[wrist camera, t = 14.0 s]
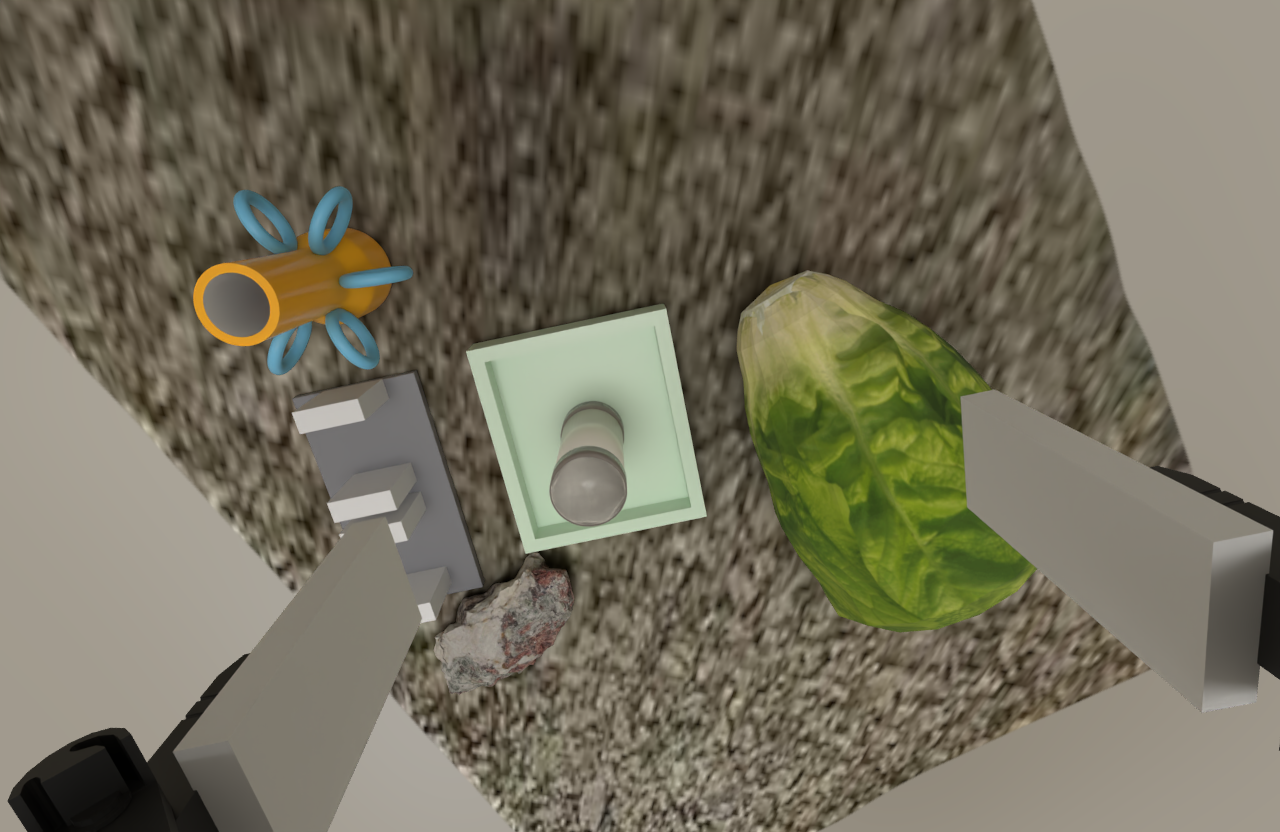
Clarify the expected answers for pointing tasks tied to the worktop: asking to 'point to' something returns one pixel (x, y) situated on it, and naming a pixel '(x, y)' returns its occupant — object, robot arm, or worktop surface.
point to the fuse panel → (393, 479)
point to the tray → (580, 372)
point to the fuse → (590, 466)
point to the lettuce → (870, 455)
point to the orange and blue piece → (299, 284)
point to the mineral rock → (505, 627)
